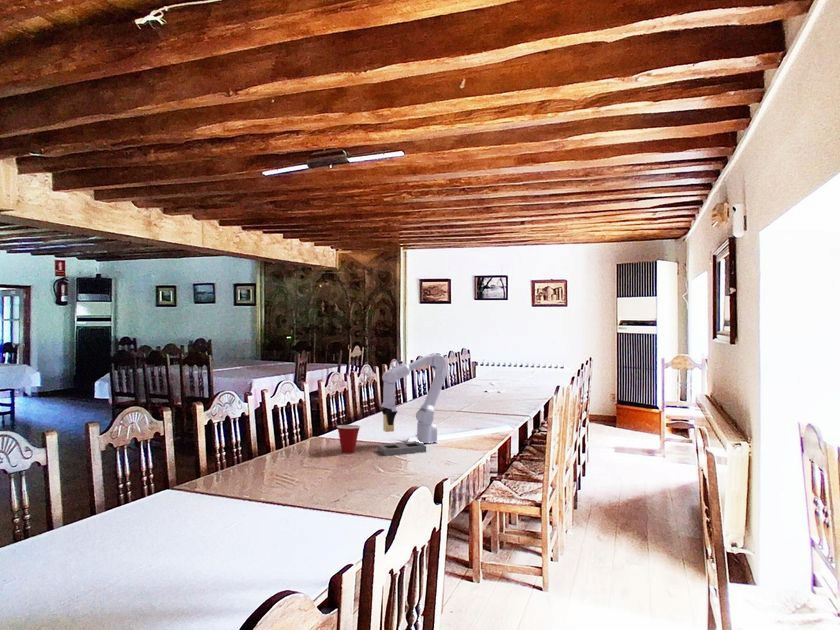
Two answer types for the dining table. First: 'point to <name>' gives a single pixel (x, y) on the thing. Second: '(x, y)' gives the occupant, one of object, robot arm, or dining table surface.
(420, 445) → the steel frame
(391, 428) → the wooden peg
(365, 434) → the dining table surface
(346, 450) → the plastic cup
